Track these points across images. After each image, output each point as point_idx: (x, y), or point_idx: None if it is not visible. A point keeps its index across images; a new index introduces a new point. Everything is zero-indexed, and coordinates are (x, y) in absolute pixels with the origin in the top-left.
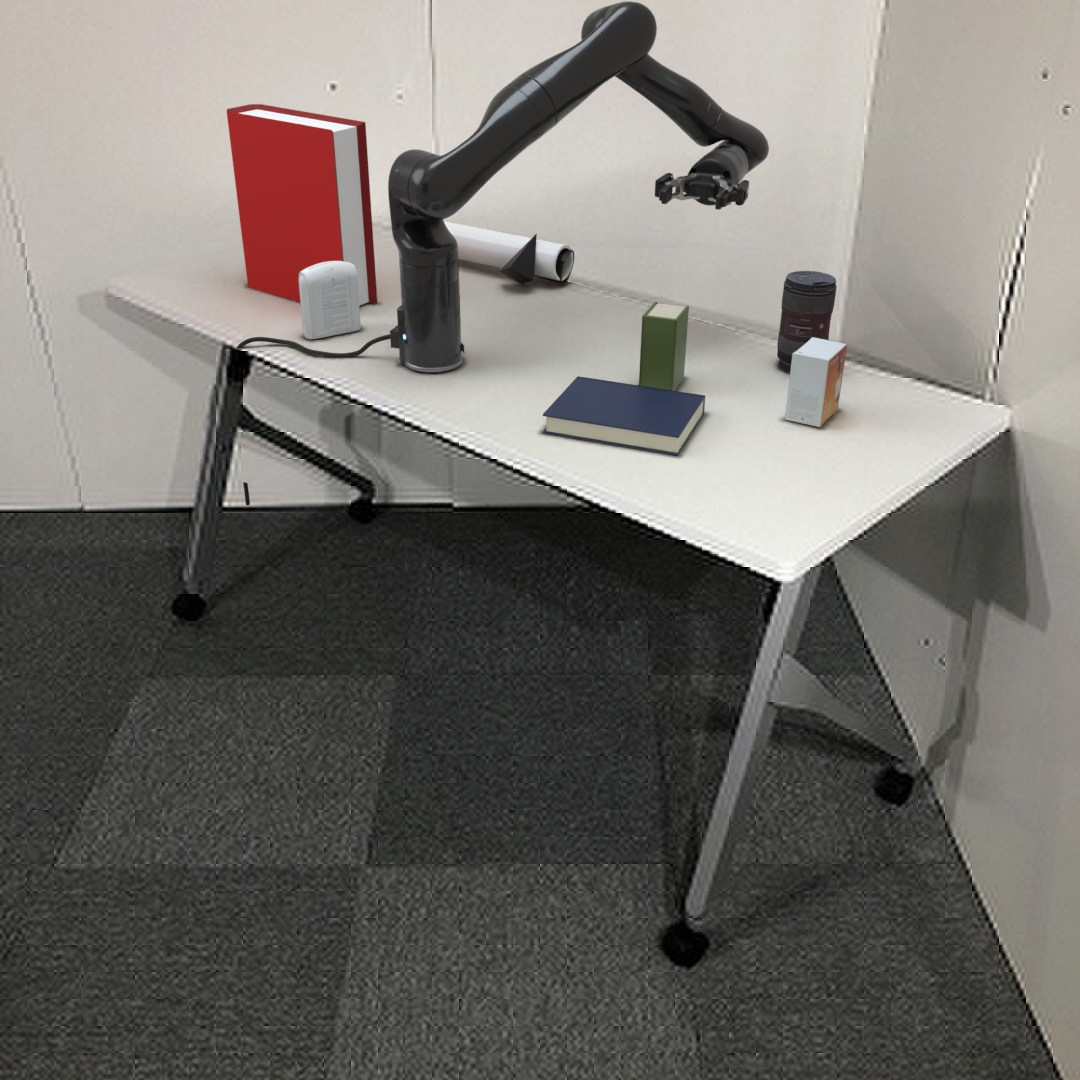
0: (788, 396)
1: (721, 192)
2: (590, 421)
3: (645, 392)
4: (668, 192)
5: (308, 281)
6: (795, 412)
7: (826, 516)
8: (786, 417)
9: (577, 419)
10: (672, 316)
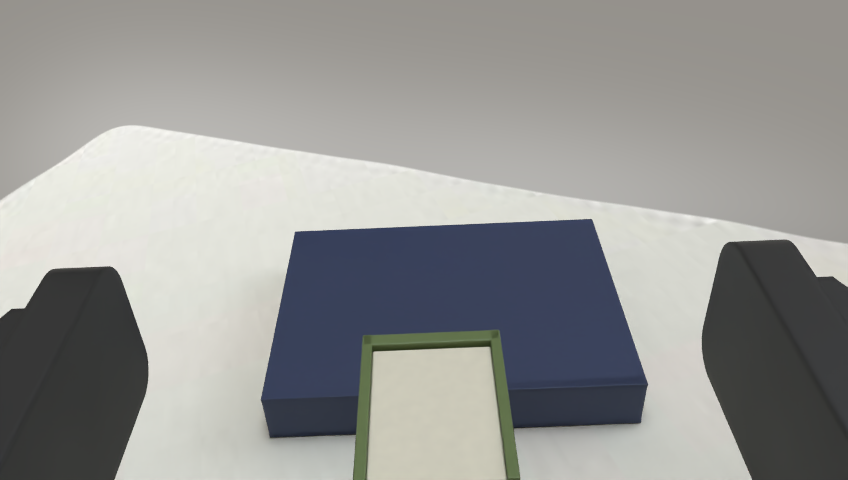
0: None
1: (21, 362)
2: (485, 224)
3: None
4: (757, 340)
5: None
6: None
7: (40, 203)
8: None
9: (514, 223)
10: (393, 373)
